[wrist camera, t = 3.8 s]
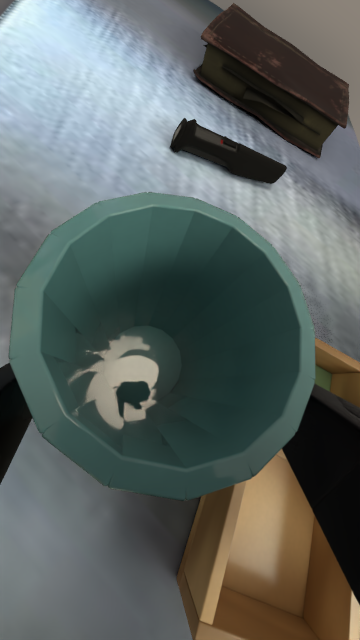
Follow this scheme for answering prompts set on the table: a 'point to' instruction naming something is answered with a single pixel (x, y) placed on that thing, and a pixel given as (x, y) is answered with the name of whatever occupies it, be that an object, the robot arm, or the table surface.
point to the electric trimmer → (225, 152)
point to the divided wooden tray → (269, 550)
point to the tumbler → (162, 345)
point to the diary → (272, 80)
